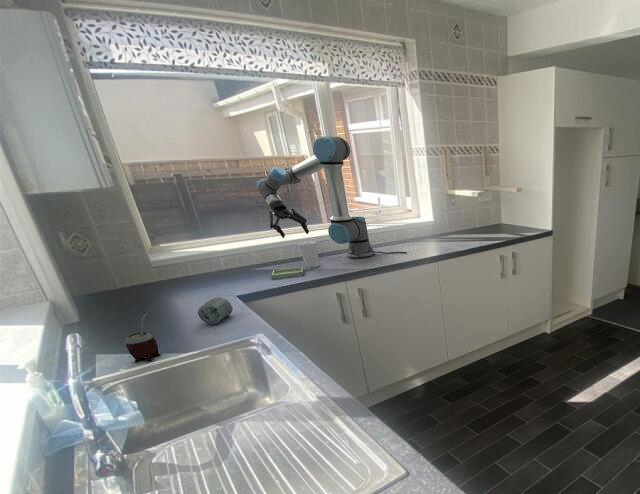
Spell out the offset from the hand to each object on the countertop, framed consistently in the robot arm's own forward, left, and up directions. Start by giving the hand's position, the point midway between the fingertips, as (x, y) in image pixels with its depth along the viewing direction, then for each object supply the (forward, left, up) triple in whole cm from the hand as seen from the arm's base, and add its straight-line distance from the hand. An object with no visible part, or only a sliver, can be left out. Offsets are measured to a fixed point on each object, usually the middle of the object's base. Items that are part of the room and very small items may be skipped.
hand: (296, 234), depth 234 cm
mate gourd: (+45, +112, -17) cm, 122 cm away
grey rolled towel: (+30, +83, -17) cm, 90 cm away
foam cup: (-5, +9, -17) cm, 20 cm away
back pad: (+7, +22, -17) cm, 29 cm away
